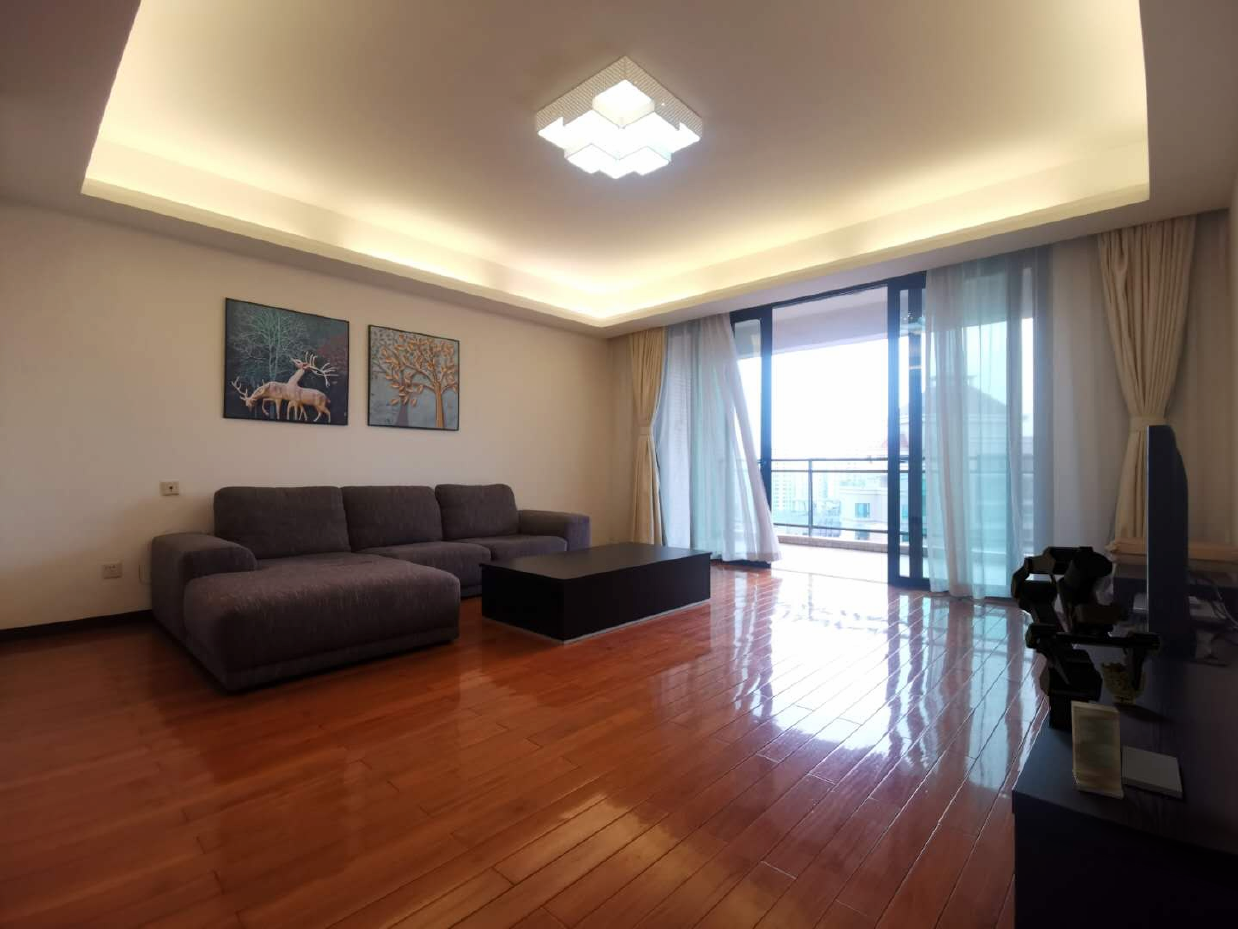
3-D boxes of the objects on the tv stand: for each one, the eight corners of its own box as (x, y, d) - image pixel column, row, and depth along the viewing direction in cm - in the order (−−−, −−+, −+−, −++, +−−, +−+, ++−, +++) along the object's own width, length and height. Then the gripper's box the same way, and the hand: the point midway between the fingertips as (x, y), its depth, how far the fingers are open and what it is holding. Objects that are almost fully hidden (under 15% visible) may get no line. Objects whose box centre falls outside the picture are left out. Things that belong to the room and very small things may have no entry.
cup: (1124, 696, 128) (1123, 661, 128) (1156, 710, 121) (1155, 672, 121) (1092, 697, 128) (1091, 661, 128) (1123, 711, 121) (1121, 673, 121)
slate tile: (1122, 783, 92) (1121, 776, 92) (1122, 752, 103) (1122, 745, 103) (1182, 800, 88) (1182, 792, 88) (1176, 765, 98) (1176, 758, 98)
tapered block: (1077, 790, 91) (1075, 708, 91) (1072, 776, 95) (1070, 698, 95) (1123, 800, 88) (1120, 715, 88) (1116, 785, 92) (1113, 704, 92)
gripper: (1028, 580, 105) (1046, 661, 96) (1159, 587, 98) (1192, 676, 88) (1018, 608, 113) (1033, 686, 103) (1138, 617, 105) (1166, 702, 96)
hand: (1102, 687), depth 97 cm, fingers open, 9 cm apart
